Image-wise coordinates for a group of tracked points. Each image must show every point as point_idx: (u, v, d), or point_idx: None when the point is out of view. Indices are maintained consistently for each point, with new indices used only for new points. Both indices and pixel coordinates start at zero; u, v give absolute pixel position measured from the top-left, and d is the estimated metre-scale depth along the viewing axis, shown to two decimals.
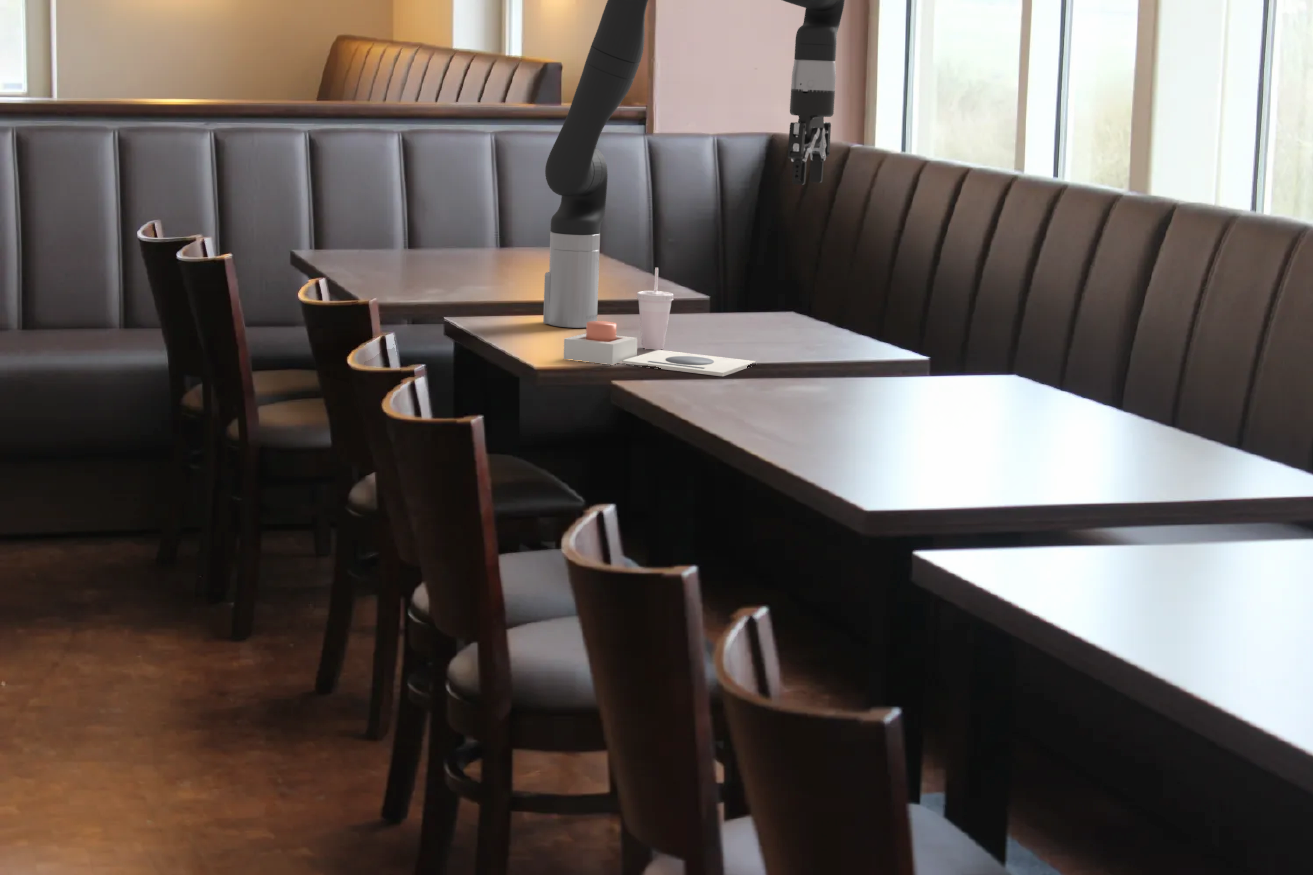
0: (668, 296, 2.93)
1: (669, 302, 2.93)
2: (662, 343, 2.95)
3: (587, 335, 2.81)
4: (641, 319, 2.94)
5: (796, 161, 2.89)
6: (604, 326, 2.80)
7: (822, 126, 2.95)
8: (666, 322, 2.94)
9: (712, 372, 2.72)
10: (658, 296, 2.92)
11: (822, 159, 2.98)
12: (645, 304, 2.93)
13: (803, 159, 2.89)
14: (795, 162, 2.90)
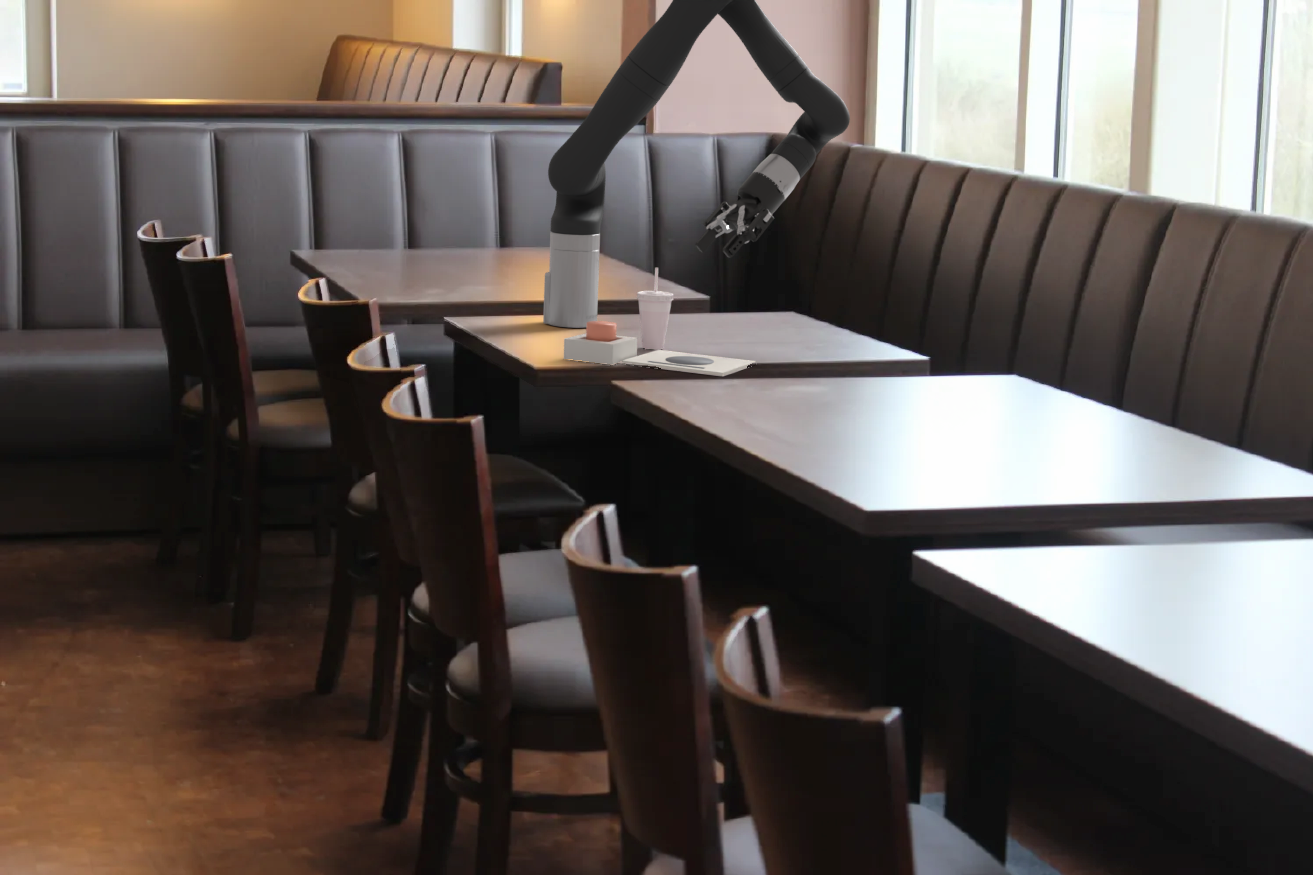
0: (668, 296, 2.93)
1: (669, 302, 2.93)
2: (662, 343, 2.95)
3: (587, 335, 2.81)
4: (641, 319, 2.94)
5: (743, 238, 2.95)
6: (604, 326, 2.80)
7: None
8: (666, 322, 2.94)
9: (712, 372, 2.72)
10: (658, 296, 2.92)
11: (716, 236, 3.04)
12: (645, 304, 2.93)
13: (748, 241, 2.96)
14: (742, 238, 2.95)
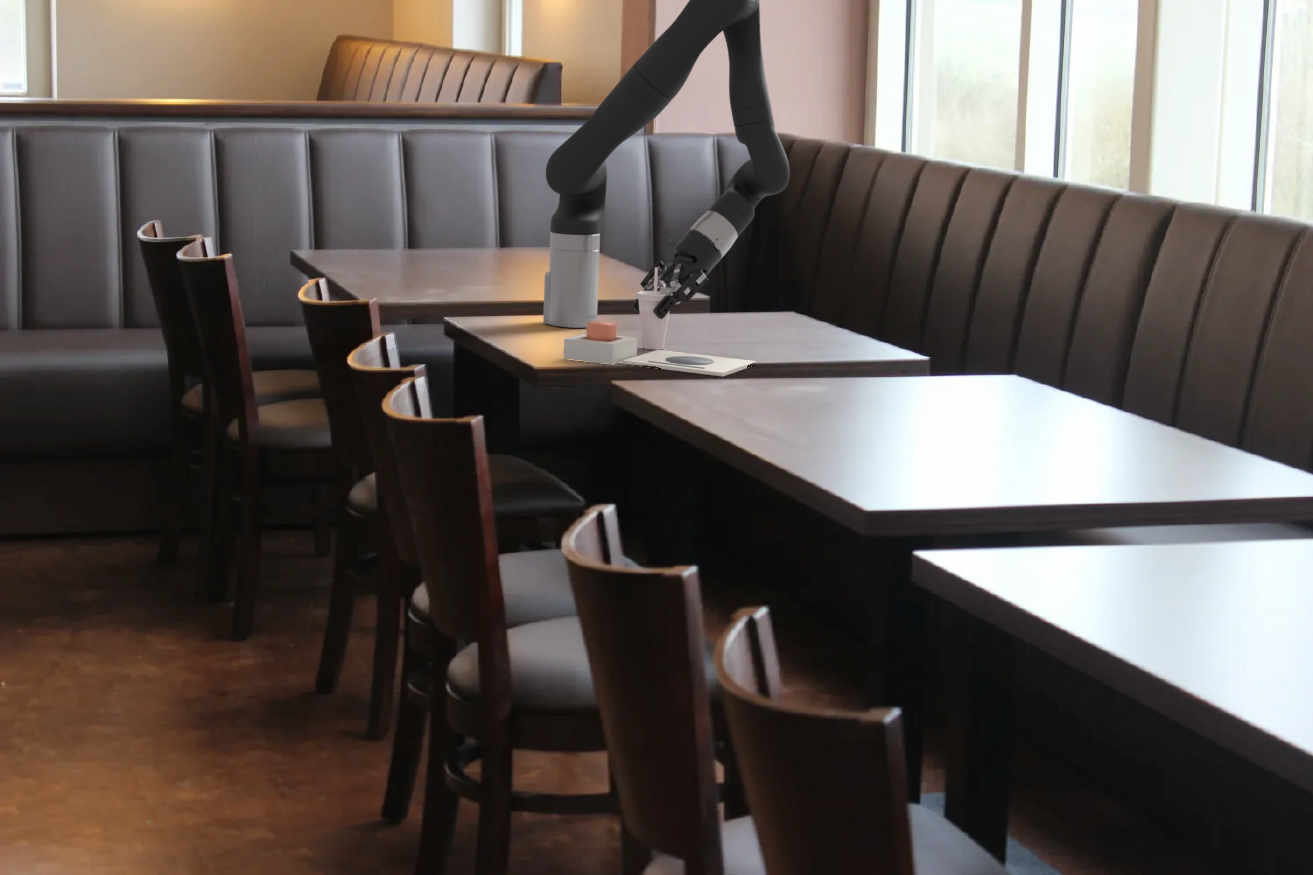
0: None
1: None
2: (662, 343, 2.95)
3: (587, 335, 2.81)
4: (641, 319, 2.94)
5: (674, 299, 2.91)
6: (604, 326, 2.80)
7: None
8: (666, 322, 2.94)
9: (712, 372, 2.72)
10: (658, 296, 2.92)
11: None
12: (645, 304, 2.93)
13: (679, 302, 2.92)
14: (672, 299, 2.91)
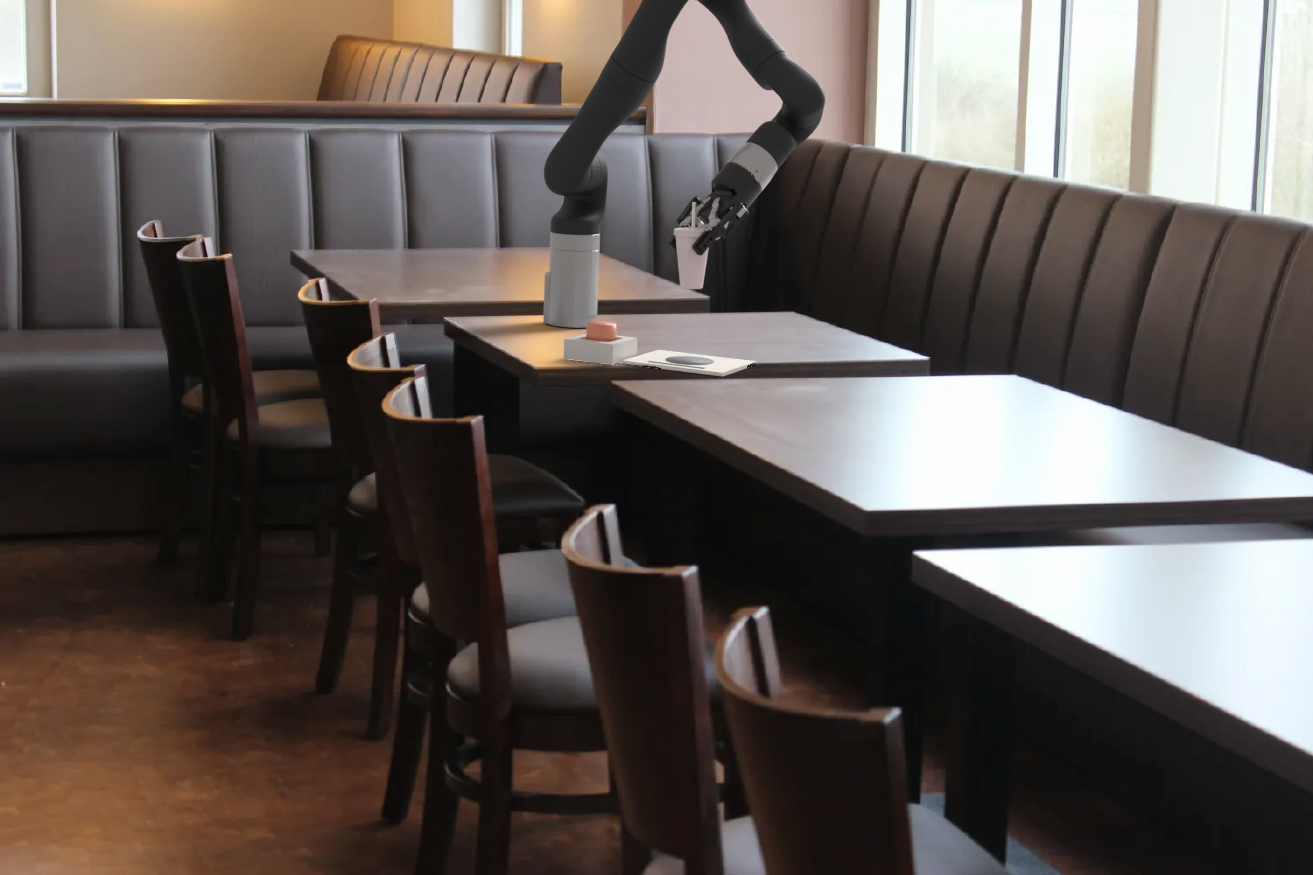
0: None
1: None
2: (701, 282, 2.81)
3: (587, 335, 2.81)
4: (679, 256, 2.80)
5: (714, 234, 2.77)
6: (604, 326, 2.80)
7: None
8: (705, 259, 2.80)
9: (712, 372, 2.72)
10: (697, 231, 2.77)
11: None
12: (683, 241, 2.78)
13: (719, 237, 2.78)
14: (712, 234, 2.77)
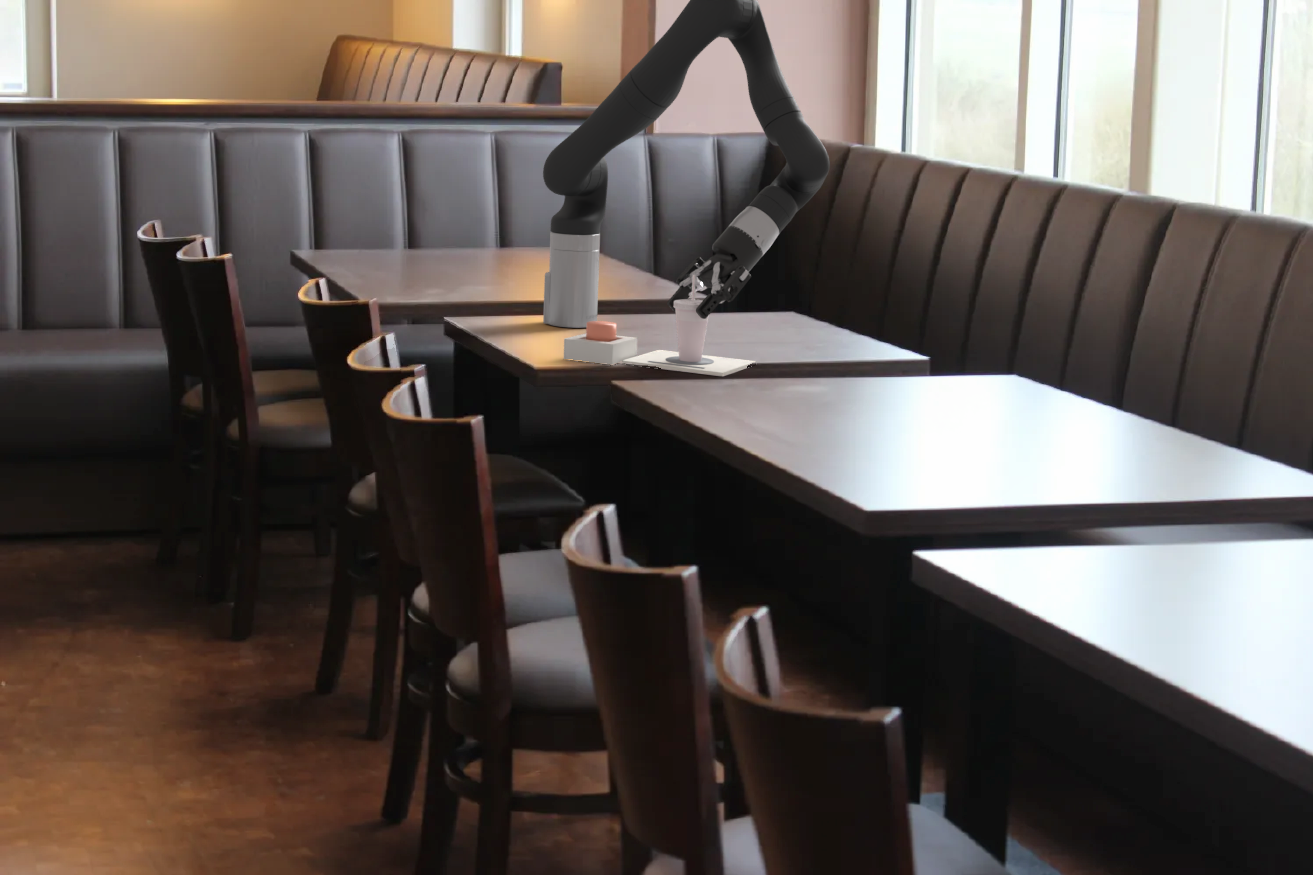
0: None
1: None
2: (700, 354, 2.81)
3: (587, 335, 2.81)
4: (678, 329, 2.80)
5: (718, 298, 2.76)
6: (604, 326, 2.80)
7: None
8: (704, 332, 2.80)
9: (712, 372, 2.72)
10: (696, 305, 2.77)
11: (689, 294, 2.84)
12: (682, 314, 2.78)
13: (723, 301, 2.76)
14: (716, 297, 2.75)
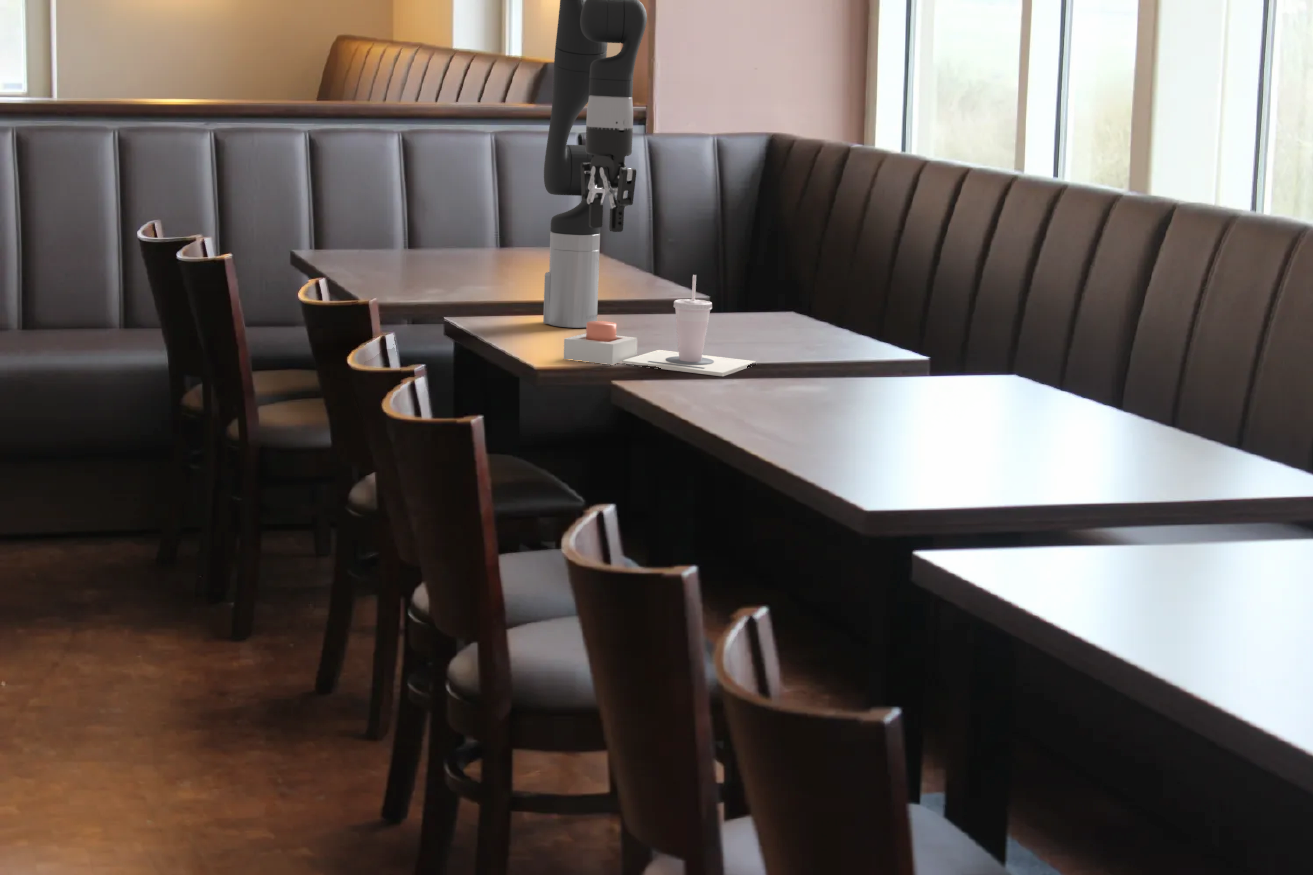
0: (707, 305, 2.78)
1: (708, 311, 2.79)
2: (700, 354, 2.81)
3: (587, 335, 2.81)
4: (678, 329, 2.80)
5: (620, 208, 2.74)
6: (604, 326, 2.80)
7: None
8: (704, 332, 2.80)
9: (712, 372, 2.72)
10: (696, 305, 2.77)
11: (601, 202, 2.81)
12: (682, 314, 2.78)
13: None
14: (618, 209, 2.74)
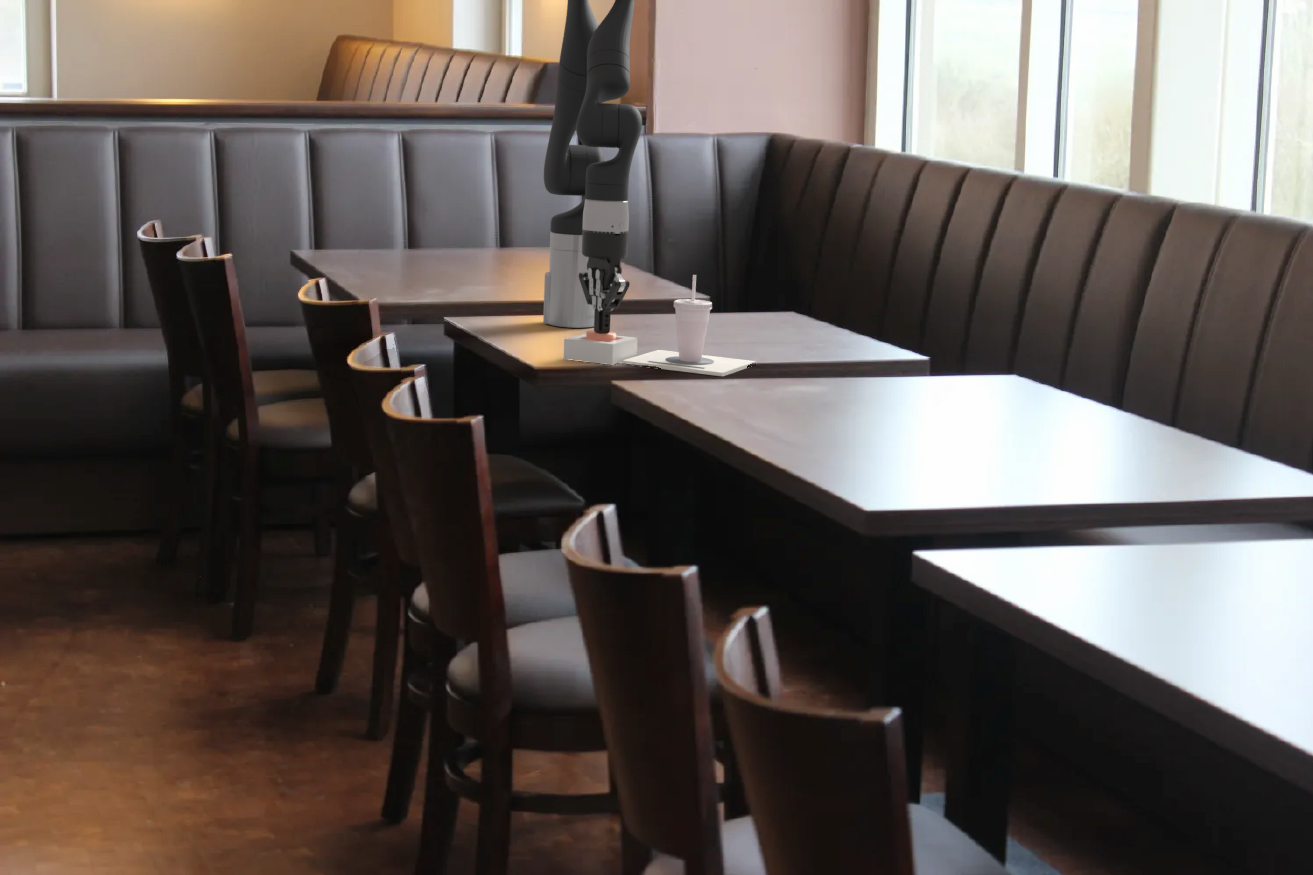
0: (707, 305, 2.78)
1: (708, 311, 2.79)
2: (700, 354, 2.81)
3: None
4: (678, 329, 2.80)
5: (606, 310, 2.80)
6: (604, 336, 2.80)
7: None
8: (704, 332, 2.80)
9: (712, 372, 2.72)
10: (696, 305, 2.77)
11: None
12: (682, 314, 2.78)
13: None
14: (605, 311, 2.80)
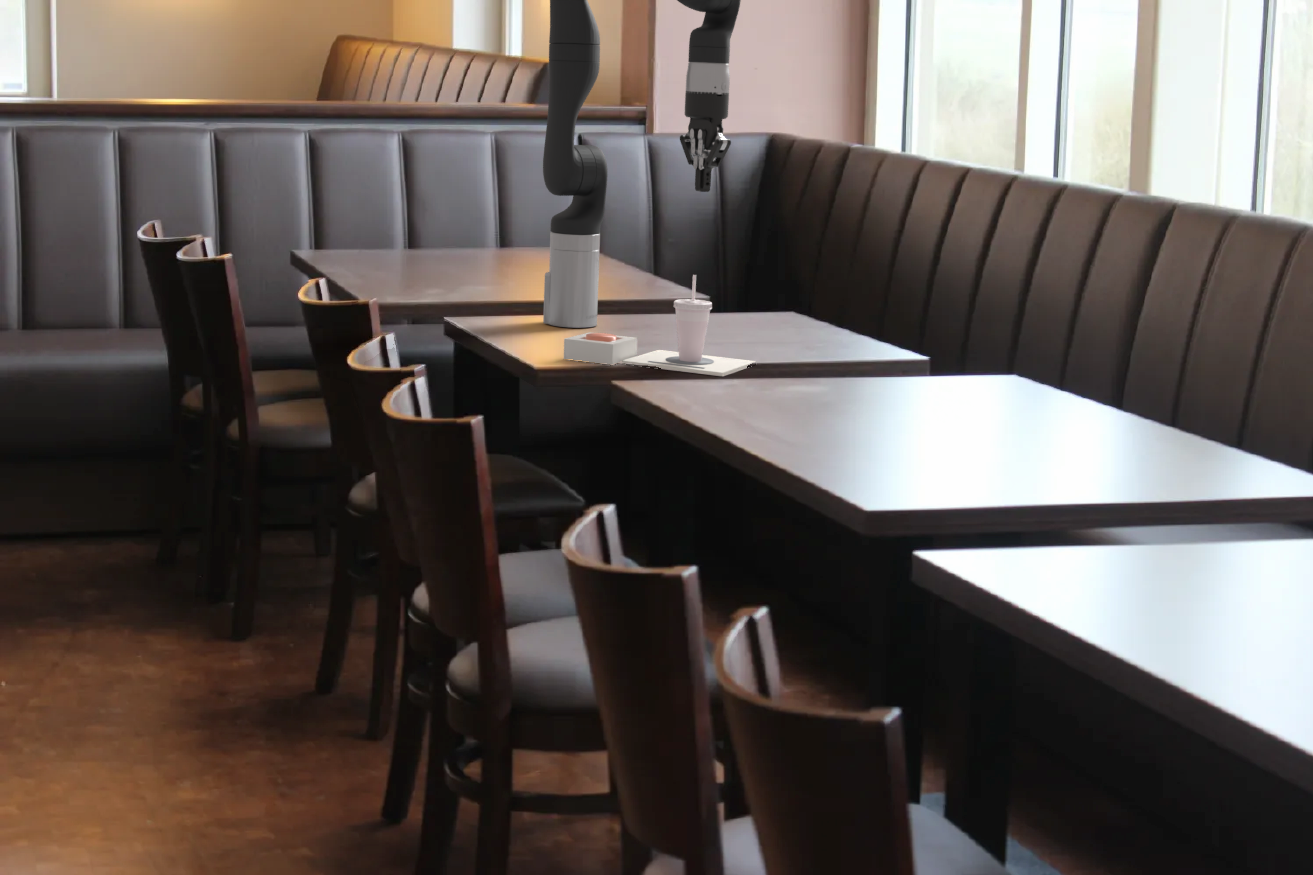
0: (707, 305, 2.78)
1: (708, 311, 2.79)
2: (700, 354, 2.81)
3: None
4: (678, 329, 2.80)
5: (708, 169, 2.95)
6: (604, 338, 2.80)
7: None
8: (704, 332, 2.80)
9: (712, 372, 2.72)
10: (696, 305, 2.77)
11: None
12: (682, 314, 2.78)
13: None
14: (706, 170, 2.95)
